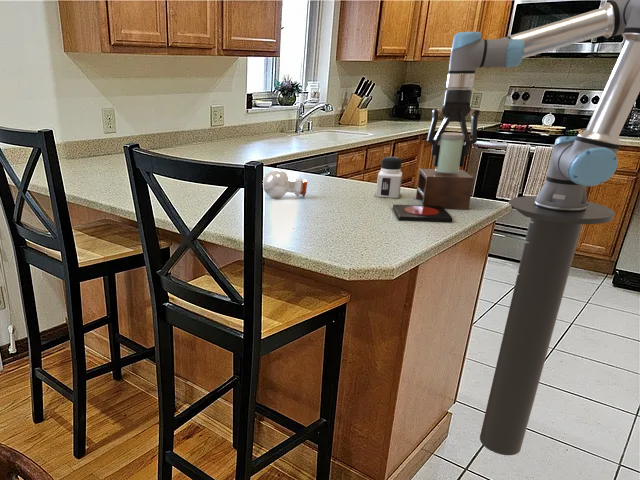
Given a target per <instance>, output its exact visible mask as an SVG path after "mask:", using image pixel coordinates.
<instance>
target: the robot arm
mask: <svg viewBox="0 0 640 480" xmlns="http://www.w3.org/2000/svg"><path fill="white" fill-rule="evenodd" d="M615 36H621V37H622V38H623V40H624V44H623V46H622V48H621V51H620V53H619V55H618V57H617V60H616V62H615V64H614V66H613V69H612V71H611V73H610V75H609V78H608V80H607V81H606V84H605V86H604V89H603V91H602V93H601V95H600V97H599V100H598V102H597V103H596V106H595V109H594V111H593V113H592V115H591V117H590V120H589V122H588V124H587V126H586V129H584V130H583V131H582V132H580V133H578V134H577V135H575V136H571V135H570V136H559V137H557V138H555V142H554V144H553V146H552V153H551V157H550V161H549V166H548V169H547V174H546V179H545V182H544V184H543V186H542V187H541V189H540V190H539V192H538V194H537V195H536V196H537V197H536V200H535V203H534V204H535V206H537V207H540V208H543V209H547V210H553V211H560V212H582V211H585V210H586V207H587V205H588V204H587V202H588V200H587V199H588V198H587V189H586V187H595V186H599V185H601V184H603V183H605V182H607V181H608V180H609V179H611V177H612V176H613V175H614V174H615V172H616V170H617V168H618V163H619V161H618V157H617V154H618V152H619V150H620V148H621V145H622V142H621V140H620V138H619V137H620V134H621V132H622V129H624V125H625V123H626V121H627V119H628V117H629V115H630V113H631V111H632V109H633V107H634V104H635V103H636V100H637V99H638V96H639V94H640V0H611V1H607V2H604V4H603V5H602V6H601V7H600V8H597V9H592V10H590V11H587V12H584V13H580V14H577V15H574V16H571V17H567V18H563V19H561V20H557V21H554V22H551V23H547V24H544V25H540V26H537V27H533V28H530V29H528V30H524V31H521V32H517V33H514V34H511V35H508V36H505V37H500V38H495V39H485V38H482V32H480V31H461V32H457V33H455V34H454V36H453V39H452V45H451V49H450V57H449V64H448V74H447V79H446V86H445V87H446V88H447V89H446V90H445V92H444V100H443V105H442V107H441V108H438V109H432V115H431V116H432V119H431V122H430V127H429V130H428V134H427V138H426V142H427V143H429V144H431V151H430V154H431V156H433V161H432V166H433V167H436V166H437V162H438V155H439V148H440V145H439V140H440V138H441V134H443V133H445V132H446V129H447V127H448V125H449V124H450V122H451V123H452V122H458V123H459V125H460V131H461V133H462V134H465V139H464V142H463V149H462V155H461V161H460V167H459V168H464V162H465V157H468V156H469V151H470V146H471V145H473V144H477V141H478V118H479V115H480V112H481V111H480V109H476V108H475V109H474V108H472V107H471V101H472V94H473V90H472V89H473V87H474V83H475V82H474V81H475V75H476V70H477V68H485V69H491V68H505V69H508V68H517V67H519V66H520V64H521V63H522V60H523V59H526V58H529V57H532V56H535V55H539V54H542V53H543V54H544V53H546V52H549V51H554V50H557V49H561V48H563V47H567V46H571V45H574V44H578V43H581V42H585V41H588V40H591V39H596V38H599V37H604V38H607V39H608V38H612V37H615ZM441 113H442V115H443V116H444V118H443V120H442V122H441V124H440V126H439V128H438V130H437V132H436V129H437V124H438V121H439V117H441ZM469 114H470V119H471V120H470V136H469V131H468V128H467V127H468V126H467V121H466V117H468V115H469ZM435 133H436V134H435ZM434 135H435V136H434Z"/></svg>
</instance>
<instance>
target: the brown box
mask: <svg viewBox="0 0 640 480" xmlns="http://www.w3.org/2000/svg"><path fill="white" fill-rule="evenodd" d="M474 180H475V177H474V176H472V175H471V174H470V173H468V172H467V171H466V170H464V169H459V172H457V173H443V172H437V171H435V168H419V172H418V179H417V186H416V187H417V188H416V193H415V199H416V200H422V204H421V205H425V206H442V207H443V208H444V209H445V210H469V209H470V203H471V197H472V191H473V187H474Z"/></svg>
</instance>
